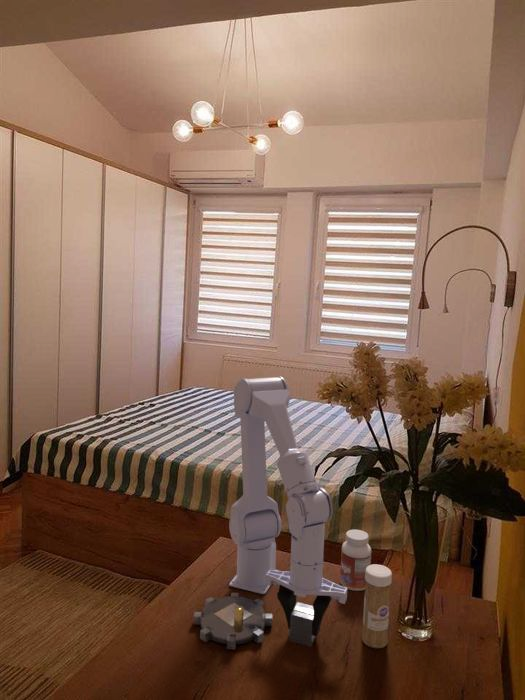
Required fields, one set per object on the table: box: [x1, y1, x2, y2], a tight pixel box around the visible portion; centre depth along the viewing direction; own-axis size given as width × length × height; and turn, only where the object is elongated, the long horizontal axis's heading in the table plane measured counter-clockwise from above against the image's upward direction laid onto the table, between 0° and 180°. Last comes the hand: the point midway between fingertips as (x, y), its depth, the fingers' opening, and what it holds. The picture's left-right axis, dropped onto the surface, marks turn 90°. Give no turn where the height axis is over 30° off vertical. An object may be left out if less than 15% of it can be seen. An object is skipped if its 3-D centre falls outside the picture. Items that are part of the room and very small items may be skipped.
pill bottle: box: [339, 529, 372, 592], centre depth 112 cm, size 6×6×11 cm
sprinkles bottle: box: [361, 563, 393, 649], centre depth 93 cm, size 5×5×14 cm
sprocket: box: [193, 592, 273, 650], centre depth 97 cm, size 14×14×6 cm
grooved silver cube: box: [289, 601, 317, 647], centre depth 94 cm, size 4×4×5 cm
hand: (303, 629), depth 94 cm, fingers closed on grooved silver cube, 4 cm apart
